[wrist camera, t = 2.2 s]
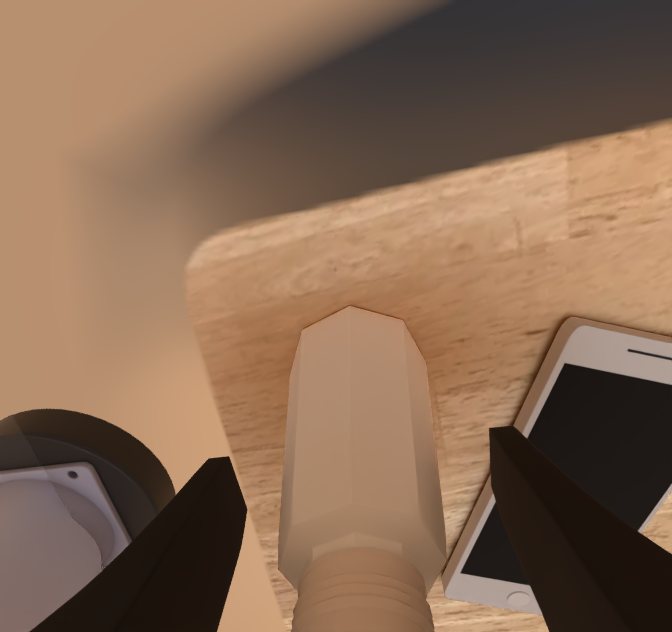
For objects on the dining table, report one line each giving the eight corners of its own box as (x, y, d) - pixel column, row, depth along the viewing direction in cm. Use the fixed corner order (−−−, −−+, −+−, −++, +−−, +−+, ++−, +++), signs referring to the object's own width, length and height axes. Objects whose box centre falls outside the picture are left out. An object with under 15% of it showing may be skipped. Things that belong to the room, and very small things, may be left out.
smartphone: (438, 581, 22) (441, 600, 21) (564, 313, 15) (577, 324, 14) (569, 604, 22) (578, 623, 21) (745, 351, 16) (768, 364, 15)
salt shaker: (422, 296, 15) (554, 604, 5) (427, 416, 18) (529, 796, 8) (278, 311, 16) (150, 621, 6) (301, 426, 18) (235, 797, 8)
